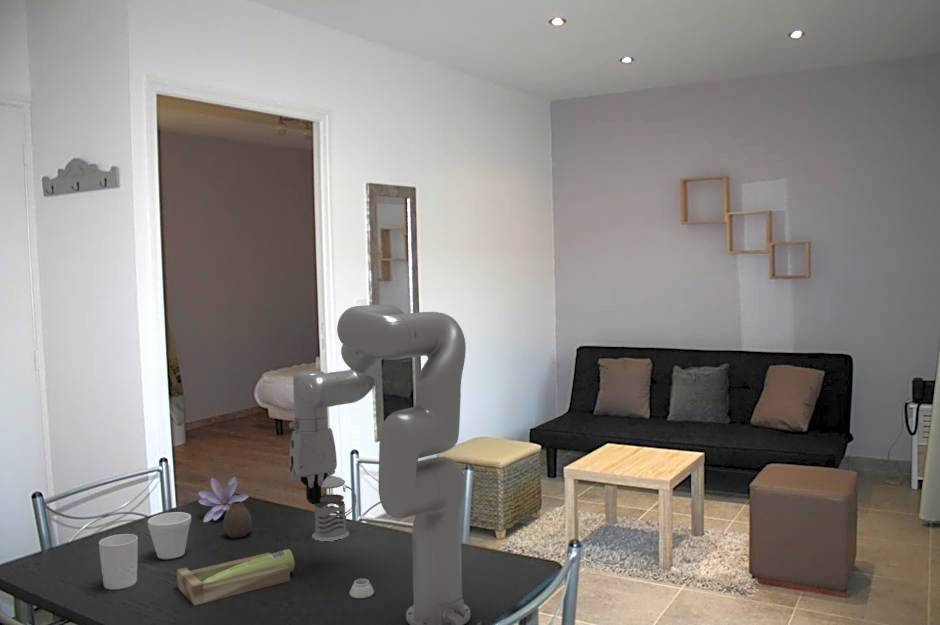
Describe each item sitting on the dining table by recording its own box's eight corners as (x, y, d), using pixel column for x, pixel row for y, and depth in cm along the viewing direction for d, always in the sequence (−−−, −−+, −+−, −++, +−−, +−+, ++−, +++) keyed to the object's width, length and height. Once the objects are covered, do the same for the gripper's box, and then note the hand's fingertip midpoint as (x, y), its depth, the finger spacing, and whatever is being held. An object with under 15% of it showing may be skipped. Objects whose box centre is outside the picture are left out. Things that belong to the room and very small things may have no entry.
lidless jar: (359, 602, 170) (378, 594, 173) (358, 588, 170) (378, 581, 173) (345, 595, 174) (364, 588, 177) (344, 581, 174) (364, 575, 177)
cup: (140, 561, 195) (138, 523, 195) (165, 547, 205) (163, 510, 204) (177, 564, 193) (175, 526, 192) (201, 549, 203) (199, 512, 202)
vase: (222, 534, 214) (221, 500, 214) (249, 529, 217) (248, 497, 217) (226, 542, 208) (225, 507, 207) (254, 537, 211) (252, 504, 210)
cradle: (290, 580, 182) (289, 563, 181) (194, 605, 169) (193, 586, 169) (269, 565, 191) (268, 548, 191) (177, 587, 179) (176, 569, 179)
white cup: (128, 574, 187) (126, 531, 187) (146, 582, 182) (144, 538, 182) (94, 585, 181) (92, 541, 181) (112, 594, 176) (109, 548, 176)
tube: (293, 577, 186) (206, 600, 176) (285, 560, 190) (199, 582, 179) (296, 560, 183) (208, 583, 173) (289, 543, 187) (201, 564, 176)
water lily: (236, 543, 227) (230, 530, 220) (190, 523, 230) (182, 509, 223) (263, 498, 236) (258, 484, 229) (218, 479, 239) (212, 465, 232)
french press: (308, 531, 214) (305, 437, 213) (352, 526, 219) (349, 433, 217) (315, 543, 205) (311, 444, 204) (360, 537, 209) (358, 440, 208)
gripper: (287, 431, 182) (290, 512, 183) (348, 422, 191) (350, 500, 192) (274, 426, 188) (277, 505, 189) (333, 417, 197) (335, 493, 198)
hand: (314, 502), depth 191 cm, fingers closed
